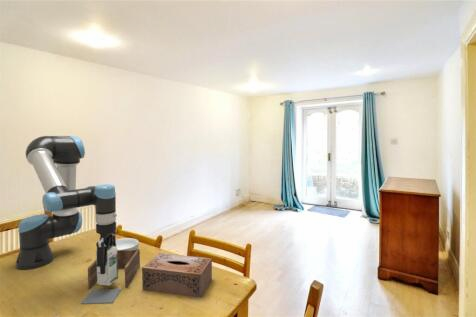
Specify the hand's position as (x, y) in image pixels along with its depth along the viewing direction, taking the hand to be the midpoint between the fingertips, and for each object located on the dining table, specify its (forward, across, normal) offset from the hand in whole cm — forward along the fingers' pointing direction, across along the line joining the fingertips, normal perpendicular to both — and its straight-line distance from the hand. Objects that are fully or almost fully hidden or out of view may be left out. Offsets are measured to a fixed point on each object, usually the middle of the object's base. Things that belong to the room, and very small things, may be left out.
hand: (107, 275), depth 111 cm
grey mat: (+6, -6, 0) cm, 8 cm away
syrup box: (+3, 0, 0) cm, 3 cm away
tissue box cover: (+6, +1, -29) cm, 30 cm away
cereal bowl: (+6, +31, +5) cm, 32 cm away
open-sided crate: (+6, +9, 0) cm, 11 cm away
